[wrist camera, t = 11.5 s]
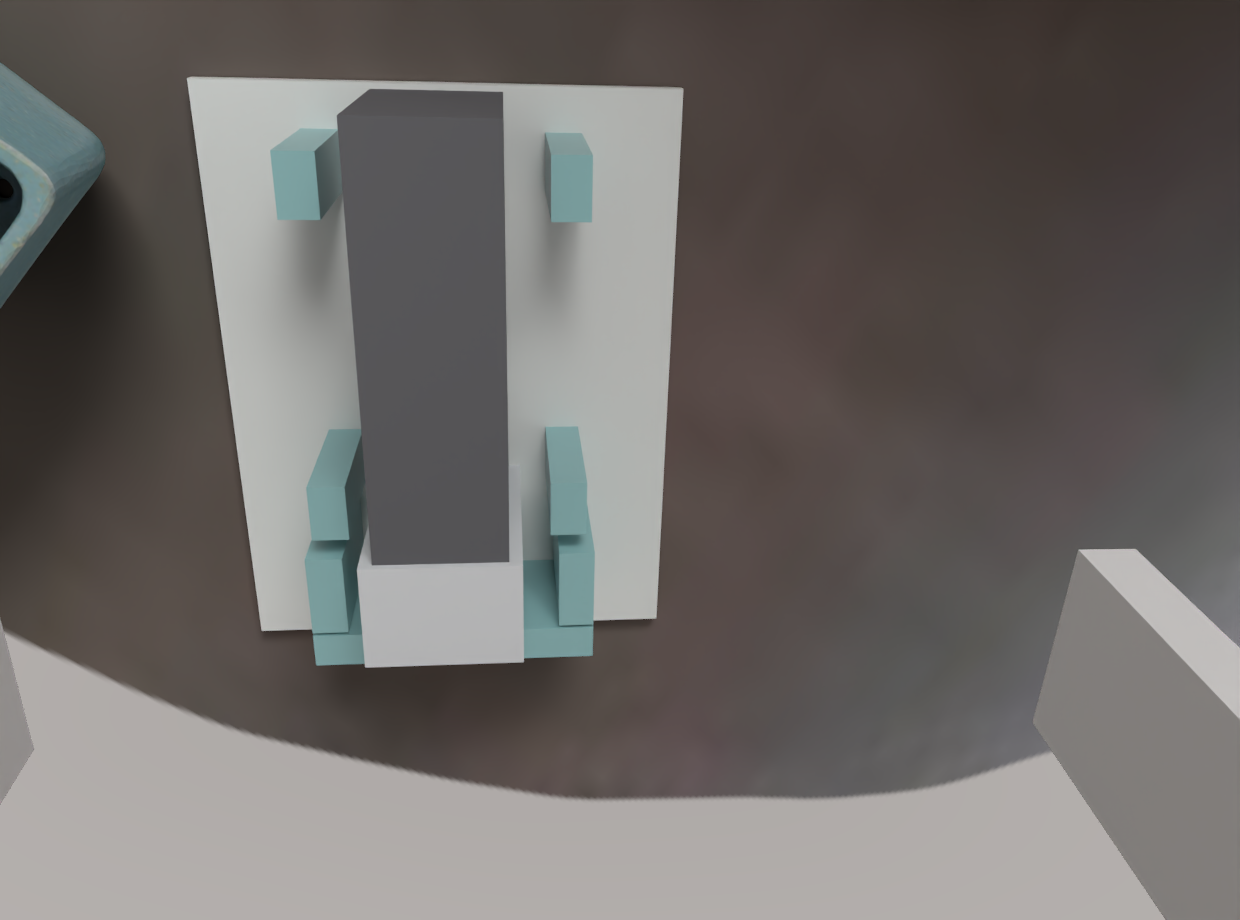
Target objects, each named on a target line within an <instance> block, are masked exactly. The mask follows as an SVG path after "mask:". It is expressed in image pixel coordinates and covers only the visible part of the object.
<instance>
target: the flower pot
mask: <svg viewBox="0 0 1240 920" xmlns="http://www.w3.org/2000/svg"><path fill="white" fill-rule="evenodd" d="M104 164H105V150H104V147H103V145H102V143H101V141H100V140H99V139H98V138H97V136H96V135H95V134H94V133H93V132H91V131H90V130H89V129H88V128H86V127H85V126H84V125H83V124H81V123H80V122H79V121H78V120H76V119H75V118H74V117H72V116H71V115H70V114H68V113H67V112H66V111H64V110H63V109H62V108H60V107H59V106H57V105H56V104H55V103H53V102H52V101H51V100H49V99H48V98H47V97H46V96H44V95H43V94H42V93H40V92H39V91H38V90H36V89H35V88H34V87H32V86H31V85H30V84H28V83H27V82H26V81H24V80H23V79H22V78H20V77H19V76H18V75H16V74H15V73H14V72H13V71H11V70H10V69H9V68H7V67H6V66H5V65H3V64H2V63H1V62H0V179H5V180H7V181H8V182H9V183H10V184H11V185H12V187H13V194H12V196H11V197H10V198H2V197H0V308H1V307H2V306H3V304H4V303H5V301H6V300H7V299H8V297H9V296H10V294H11V293H12V292H13V290H14V289H15V288H16V286H17V285H18V283H19V282H20V281H21V279H22V278H23V277H24V275H25V274H26V273H27V271H28V270H29V268H30V267H31V266H32V264H33V263H34V262H35V260H36V259H37V258H38V256H39V255H40V253H41V252H42V251H43V249H44V248H45V247H46V245H47V244H48V243H49V241H50V240H51V239H52V237H53V236H54V234H55V233H56V232H57V230H58V229H59V228H60V226H61V225H62V224H63V222H64V221H65V220H66V218H67V217H68V216H69V214H70V213H71V212H72V210H73V209H74V208H75V206H76V205H77V204H78V202H79V201H80V200H81V199H82V197H83V196H84V195H85V193H86V192H87V191H88V190H89V188H90V187H91V186H92V185H93V183H94V182H95V181H96V179H97V178H98V176H99V175H100V173H101V171H102V169H103V166H104Z"/></svg>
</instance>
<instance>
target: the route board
mask: <svg viewBox="0 0 1240 920" xmlns="http://www.w3.org/2000/svg"><path fill="white" fill-rule="evenodd" d="M187 82H188V90H189V97H190V104H191V112H192V119H193V127H194V134H195V141H196V149H197V156H198V164H199V171H200V178H201V186H202V193H203V201H204V208H205V215H206V223H207V230H208V238H209V245H210V252H211V260H212V267H213V275H214V282H215V289H216V297H217V304H218V312H219V319H220V326H221V334H222V341H223V349H224V356H225V363H226V371H227V378H228V386H229V393H230V400H231V408H232V415H233V423H234V430H235V437H236V445H237V452H238V460H239V467H240V474H241V482H242V489H243V497H244V504H245V511H246V519H247V526H248V534H249V541H250V548H251V556H252V563H253V571H254V578H255V585H256V593H257V600H258V608H259V615H260V622H261V630H262V631H276V630H308V629H312V632H313V633H314V635H313V641H314V650H315V659H316V665H344V664H365V660H364V648H363V636H362V625H361V613H360V601H359V589H358V578H357V567H358V563H359V559H360V555H361V551H362V547H363V543H364V539H365V535H366V531H367V527H368V510H367V498H366V485H365V472H364V459H363V446H362V434H361V421H360V408H359V395H358V382H357V370H356V357H355V344H354V331H353V318H352V306H351V293H350V280H349V267H348V254H347V242H346V229H345V216H344V203H343V190H342V177H341V165H340V152H339V139H338V126H337V115H338V114H339V113H340V112H341V111H343V110H344V109H345V108H346V107H348V106H349V105H350V104H351V103H353V102H354V101H355V100H356V99H357V98H359V97H360V96H361V95H362V94H364V93H365V92H366V91H367V90H369V89H402V90H445V91H489V92H503V121H504V189H505V257H506V325H507V393H508V462H509V465H520V485H521V516H522V547H523V610H524V658H544V657H573V656H593V620H625V619H656V614H657V595H658V576H659V556H660V537H661V517H662V498H663V478H664V459H665V439H666V420H667V400H668V381H669V361H670V342H671V322H672V303H673V283H674V264H675V244H676V225H677V206H678V186H679V167H680V147H681V128H682V108H683V88H681V87H650V86H604V85H558V84H512V83H466V82H420V81H374V80H328V79H282V78H237V77H189V78H187Z"/></svg>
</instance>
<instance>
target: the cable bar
mask: <svg viewBox="0 0 1240 920" xmlns="http://www.w3.org/2000/svg"><path fill="white" fill-rule="evenodd" d="M337 126H338V139H339V152H340V165H341V177H342V190H343V203H344V216H345V229H346V242H347V254H348V267H349V280H350V293H351V306H352V318H353V331H354V344H355V357H356V370H357V382H358V395H359V408H360V421H361V434H362V446H363V459H364V472H365V485H366V498H367V510H368V527H367V531H366V535H365V539H364V543H363V547H362V551H361V555H360V559H359V563H358V567H357V578H358V589H359V601H360V613H361V625H362V636H363V648H364V660H365V668H369V667H398V666H428V665H458V664H487V663H517V662H524V610H523V547H522V516H521V485H520V465H509V462H508V393H507V325H506V257H505V189H504V121H503V92H489V91H445V90H402V89H369V90H367V91H366V92H365V93H364V94H362V95H361V96H360V97H359V98H357V99H356V100H355V101H354V102H353V103H351V104H350V105H349V106H348V107H346V108H345V109H344V110H343V111H341V112H340V113H339V114H338V115H337Z"/></svg>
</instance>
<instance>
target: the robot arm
mask: <svg viewBox="0 0 1240 920" xmlns="http://www.w3.org/2000/svg"><path fill="white" fill-rule="evenodd" d="M1033 724H1034V725H1035V727H1036V728H1037V730H1038V731H1039V733H1040V734H1041V736H1042V737H1043V739H1044V740H1045V742H1046V743H1047V745H1048V746H1049V748H1050V749H1051V751H1052V752H1053V754H1054V755H1055V756H1056V758H1057V759H1058V761H1059V762H1060V764H1061V765H1062V767H1063V768H1064V770H1065V771H1066V773H1067V774H1068V776H1069V777H1070V779H1071V780H1072V782H1073V783H1074V785H1075V786H1076V788H1077V789H1078V791H1079V792H1080V794H1081V795H1082V797H1083V798H1084V800H1085V801H1086V802H1087V804H1088V805H1089V807H1090V808H1091V810H1092V811H1093V813H1094V814H1095V816H1096V817H1097V819H1098V820H1099V822H1100V823H1101V825H1102V826H1103V828H1104V829H1105V831H1106V832H1107V834H1108V835H1109V837H1110V838H1111V839H1112V841H1113V842H1114V844H1115V845H1116V847H1117V848H1118V850H1119V851H1120V853H1121V854H1122V856H1123V857H1124V859H1125V860H1126V862H1127V863H1128V865H1129V866H1130V868H1131V869H1132V870H1133V872H1134V874H1135V875H1136V877H1137V878H1138V880H1139V881H1140V882H1141V884H1142V885H1143V887H1144V888H1145V890H1146V891H1147V893H1148V894H1149V896H1150V897H1151V899H1152V900H1153V902H1154V903H1155V905H1156V906H1157V908H1158V909H1159V911H1160V912H1161V914H1162V915H1163V917H1164V918H1165V919H1166V920H1240V648H1239V647H1238V646H1237V645H1236V644H1235V643H1234V642H1233V641H1232V640H1231V639H1230V638H1228V637H1227V636H1226V635H1225V634H1224V633H1223V632H1222V631H1221V630H1220V629H1219V628H1218V627H1217V626H1216V625H1215V624H1214V623H1213V622H1212V621H1211V620H1210V619H1209V618H1207V617H1206V616H1205V615H1204V614H1203V613H1202V612H1201V611H1200V610H1199V609H1198V608H1197V607H1196V606H1195V605H1194V604H1193V603H1192V602H1191V601H1190V600H1189V599H1188V598H1187V597H1185V596H1184V595H1183V594H1182V593H1181V592H1180V591H1179V590H1178V589H1177V588H1176V587H1175V586H1174V585H1173V584H1172V583H1171V582H1170V581H1169V580H1168V579H1167V578H1166V577H1165V576H1163V575H1162V574H1161V573H1160V572H1159V571H1158V570H1157V569H1156V568H1155V567H1154V566H1153V565H1152V564H1151V563H1150V562H1149V561H1148V560H1147V559H1146V558H1145V557H1144V556H1143V555H1141V554H1140V553H1139V552H1138V551H1137V550H1136V549H1084V550H1078V553H1077V557H1076V560H1075V564H1074V568H1073V572H1072V575H1071V579H1070V583H1069V587H1068V591H1067V594H1066V598H1065V602H1064V606H1063V609H1062V613H1061V617H1060V621H1059V624H1058V628H1057V632H1056V636H1055V640H1054V643H1053V647H1052V651H1051V655H1050V658H1049V662H1048V666H1047V670H1046V673H1045V677H1044V681H1043V685H1042V689H1041V692H1040V696H1039V700H1038V704H1037V707H1036V711H1035V715H1034V719H1033ZM33 750H34V748H33V744H32V740H31V736H30V732H29V728H28V725H27V721H26V717H25V713H24V709H23V705H22V701H21V697H20V693H19V690H18V686H17V682H16V678H15V674H14V670H13V667H12V662H11V658H10V655H9V650H8V647H7V643H6V639H5V635H4V631H3V627H2V623H1V619H0V804H1V802H2V801H3V799H4V797H5V796H6V794H7V793H8V791H9V789H10V788H11V786H12V784H13V783H14V781H15V779H16V778H17V776H18V775H19V773H20V771H21V770H22V768H23V766H24V765H25V763H26V762H27V760H28V758H29V757H30V755H31V753H32V752H33Z"/></svg>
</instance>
